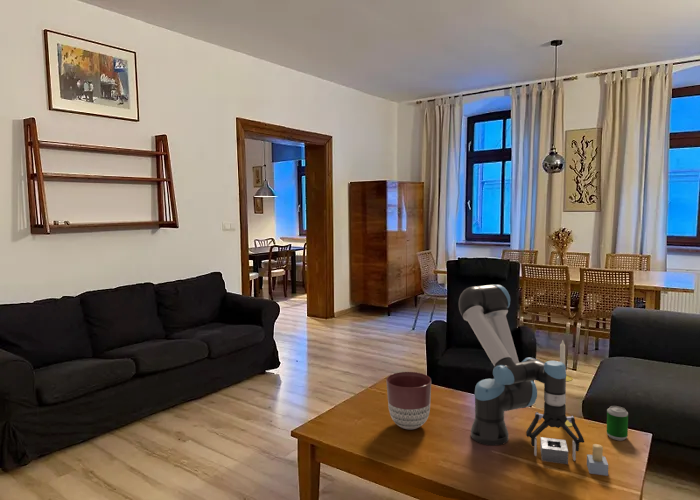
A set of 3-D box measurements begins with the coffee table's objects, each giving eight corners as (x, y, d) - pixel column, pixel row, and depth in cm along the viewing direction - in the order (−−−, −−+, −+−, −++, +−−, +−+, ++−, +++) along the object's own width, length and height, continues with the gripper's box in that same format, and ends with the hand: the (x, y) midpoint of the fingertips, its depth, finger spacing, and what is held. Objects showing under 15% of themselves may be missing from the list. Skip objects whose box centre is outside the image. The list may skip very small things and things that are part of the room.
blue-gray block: (589, 473, 172) (589, 449, 172) (586, 464, 178) (587, 441, 177) (608, 475, 171) (608, 451, 170) (604, 466, 176) (605, 443, 175)
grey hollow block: (542, 460, 181) (542, 448, 181) (540, 449, 190) (540, 437, 190) (568, 464, 179) (568, 451, 178) (565, 452, 187) (565, 440, 187)
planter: (381, 432, 207) (380, 384, 205) (394, 414, 225) (393, 369, 223) (426, 440, 200) (425, 390, 198) (436, 420, 218) (435, 374, 216)
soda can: (630, 442, 194) (631, 413, 193) (609, 440, 195) (610, 412, 194) (623, 433, 201) (624, 405, 200) (604, 432, 202) (604, 404, 201)
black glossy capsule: (549, 458, 183) (550, 446, 183) (549, 454, 186) (549, 442, 186) (558, 459, 182) (558, 447, 182) (557, 455, 185) (557, 443, 185)
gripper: (520, 403, 183) (520, 457, 184) (593, 410, 175) (592, 465, 177) (519, 395, 190) (519, 447, 191) (589, 402, 182) (588, 455, 184)
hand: (554, 456), depth 184 cm, fingers open, 13 cm apart
